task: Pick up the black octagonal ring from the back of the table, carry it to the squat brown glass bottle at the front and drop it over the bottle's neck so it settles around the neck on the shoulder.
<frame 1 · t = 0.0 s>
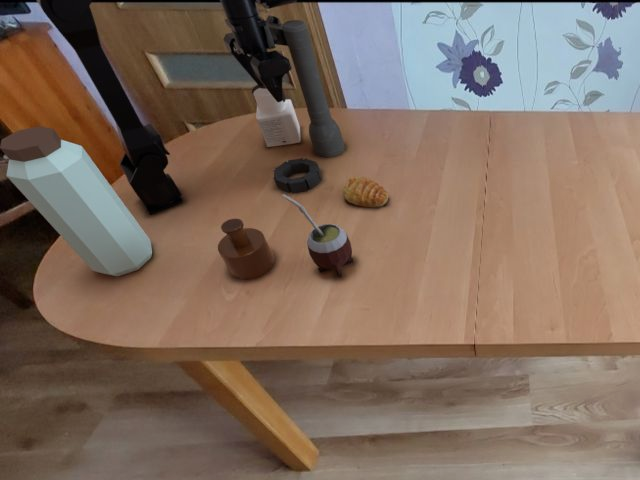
hand: (270, 93, 99), 15 cm above the table, tool pointing down, fingers open, 9 cm apart
water bottle: (127, 260, 86), on the table
mate gourd: (334, 266, 86), on the table
flashlight: (329, 149, 112), on the table
black octagonal ring: (299, 179, 103), on the table
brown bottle: (252, 264, 85), on the table
pastry: (366, 198, 99), on the table
container: (284, 138, 115), on the table
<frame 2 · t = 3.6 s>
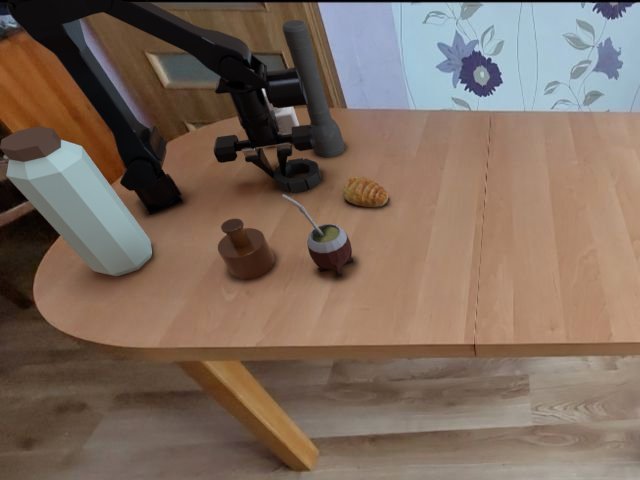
hand: (279, 177, 101), 1 cm above the table, tool pointing down, fingers closed on black octagonal ring, 2 cm apart
black octagonal ring: (299, 179, 103), on the table, touching gripper
everything else where it was.
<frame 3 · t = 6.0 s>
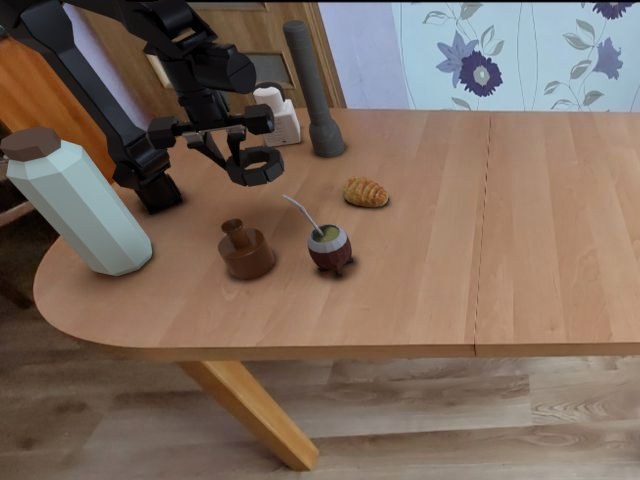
hand: (233, 168, 84), 13 cm above the table, tool pointing down, fingers closed on black octagonal ring
black octagonal ring: (258, 171, 86), point 11 cm above the table, touching gripper
everything else where it was.
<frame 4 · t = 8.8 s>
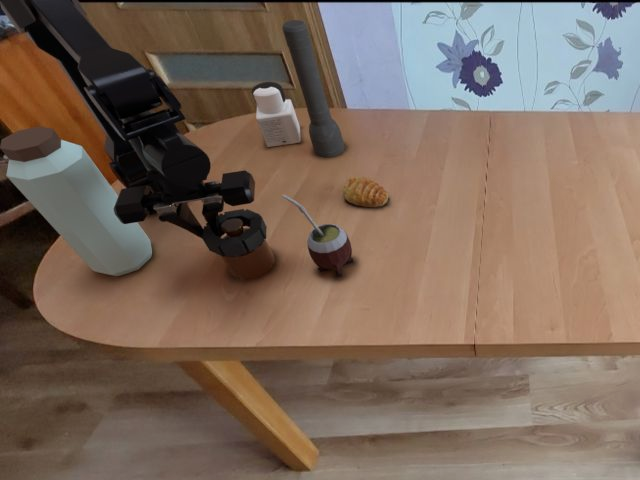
hand: (211, 236, 79), 8 cm above the table, tool pointing down, fingers closed on black octagonal ring, 2 cm apart
black octagonal ring: (238, 237, 80), point 7 cm above the table, touching gripper
everything else where it was.
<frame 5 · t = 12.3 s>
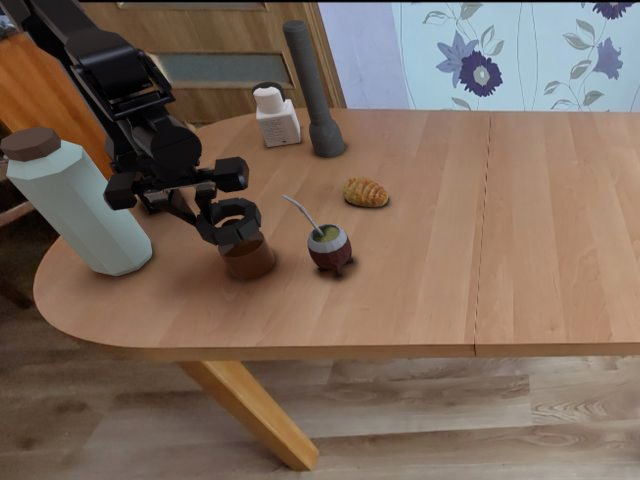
hand: (205, 224, 77), 11 cm above the table, tool pointing down, fingers closed on black octagonal ring
black octagonal ring: (232, 226, 79), point 9 cm above the table, touching gripper
everything else where it was.
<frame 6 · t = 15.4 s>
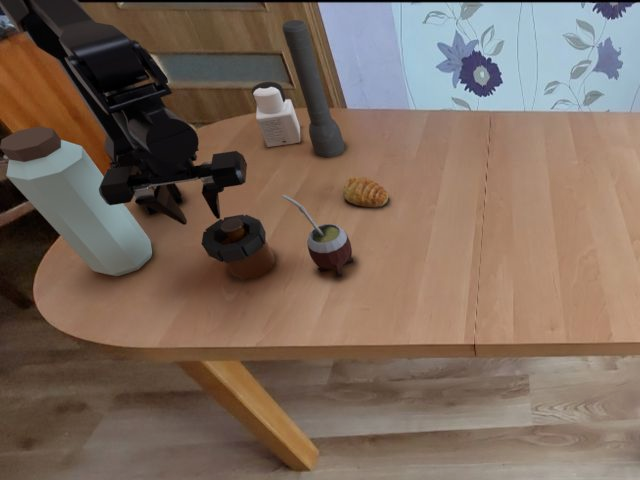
hand: (202, 220, 76), 11 cm above the table, tool pointing down, fingers open, 5 cm apart
black octagonal ring: (237, 243, 81), point 5 cm above the table, touching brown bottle
everything else where it was.
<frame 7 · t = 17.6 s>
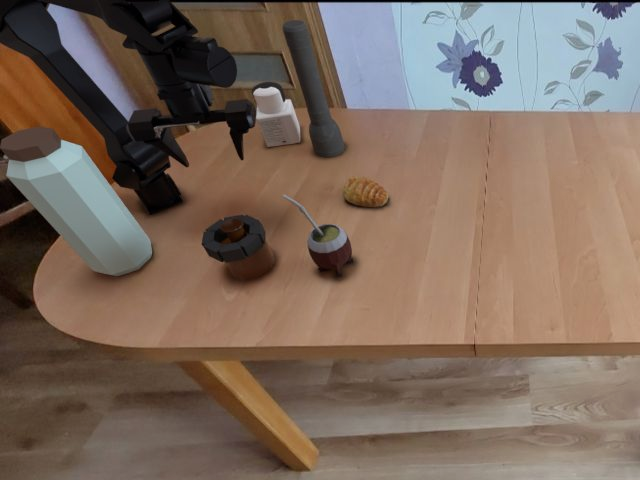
hand: (215, 162, 85), 13 cm above the table, tool pointing down, fingers open, 9 cm apart
nothing on the table moved.
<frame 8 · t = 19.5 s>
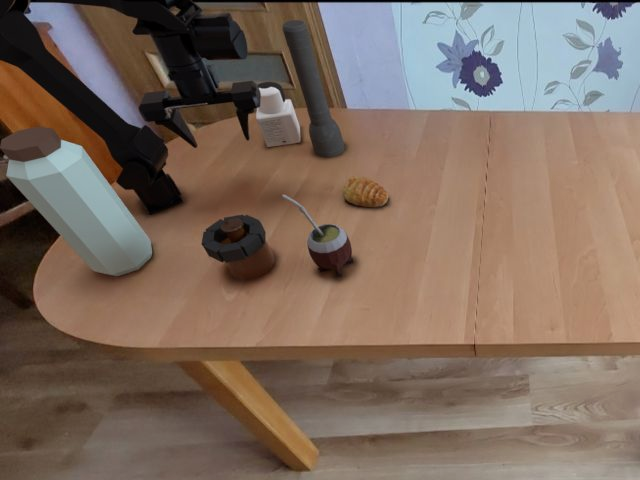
hand: (222, 143, 89), 13 cm above the table, tool pointing down, fingers open, 9 cm apart
nothing on the table moved.
at the end: black octagonal ring 0.5 cm off-centre on the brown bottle, point 5.5 cm above the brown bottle's base; black octagonal ring tilted 0°; the gripper is holding nothing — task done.
